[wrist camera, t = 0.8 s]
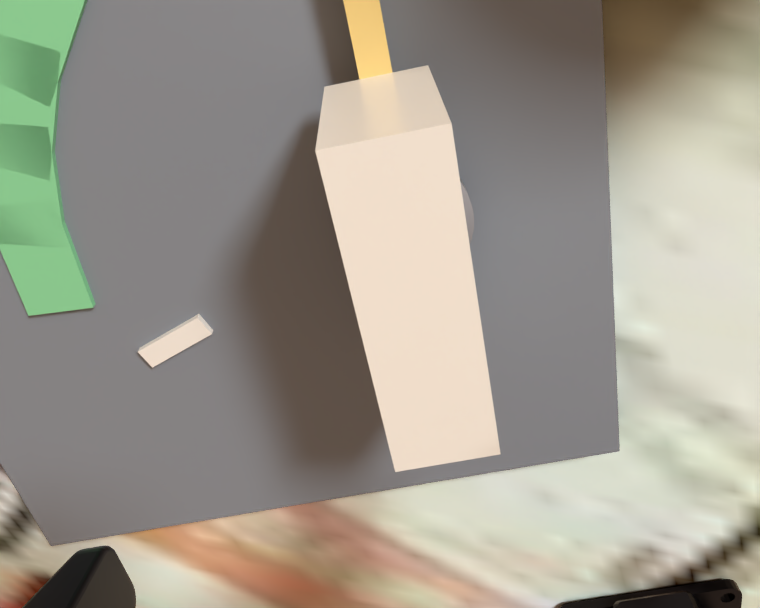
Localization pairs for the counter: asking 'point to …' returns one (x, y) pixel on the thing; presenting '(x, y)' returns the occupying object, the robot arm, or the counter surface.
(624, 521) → the counter surface
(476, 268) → the dial board
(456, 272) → the peg knob
